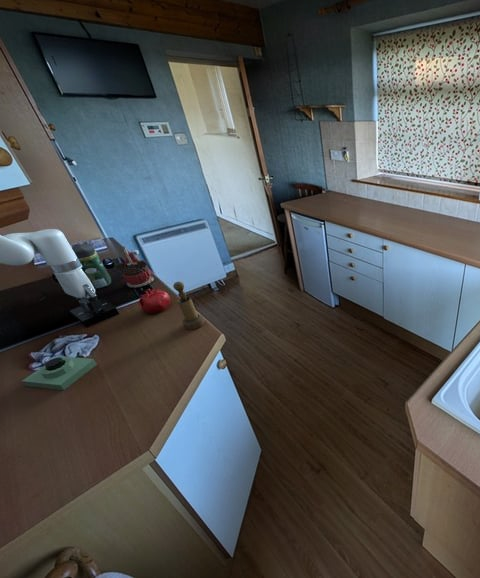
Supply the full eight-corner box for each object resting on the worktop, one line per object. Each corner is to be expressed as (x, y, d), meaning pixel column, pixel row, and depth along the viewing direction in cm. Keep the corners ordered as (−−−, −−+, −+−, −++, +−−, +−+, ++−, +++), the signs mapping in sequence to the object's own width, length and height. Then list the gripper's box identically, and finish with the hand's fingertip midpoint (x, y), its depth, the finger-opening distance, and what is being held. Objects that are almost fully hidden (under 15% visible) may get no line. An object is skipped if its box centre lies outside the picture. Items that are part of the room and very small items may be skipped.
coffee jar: (90, 282, 132) (67, 244, 122) (112, 277, 136) (92, 240, 126) (88, 292, 125) (63, 252, 116) (111, 286, 129) (90, 248, 120)
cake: (123, 290, 127) (103, 252, 117) (130, 280, 134) (111, 244, 125) (153, 286, 130) (135, 248, 121) (157, 276, 138) (141, 240, 128)
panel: (73, 317, 111) (69, 310, 109) (105, 304, 118) (101, 297, 116) (86, 327, 105) (82, 320, 104) (119, 313, 113) (115, 307, 111)
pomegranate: (176, 299, 121) (168, 280, 116) (168, 313, 113) (159, 293, 108) (148, 303, 119) (139, 283, 114) (138, 317, 111) (127, 297, 106)
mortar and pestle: (180, 327, 106) (161, 285, 97) (195, 317, 111) (179, 276, 102) (193, 331, 104) (175, 289, 95) (208, 321, 109) (193, 280, 100)
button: (44, 370, 84) (40, 365, 83) (57, 361, 87) (54, 356, 86) (55, 371, 83) (52, 367, 82) (68, 362, 86) (65, 357, 85)
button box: (26, 386, 83) (17, 376, 81) (62, 360, 92) (55, 351, 90) (64, 390, 82) (56, 380, 80) (97, 364, 91) (91, 354, 89)
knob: (82, 310, 109) (75, 299, 107) (97, 304, 113) (91, 293, 110) (87, 313, 107) (80, 303, 105) (102, 307, 111) (96, 297, 108)
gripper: (37, 265, 100) (66, 309, 109) (67, 274, 95) (95, 319, 104) (64, 257, 106) (90, 298, 115) (93, 265, 101) (118, 308, 110)
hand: (92, 308), depth 110 cm, fingers closed on knob, 4 cm apart
